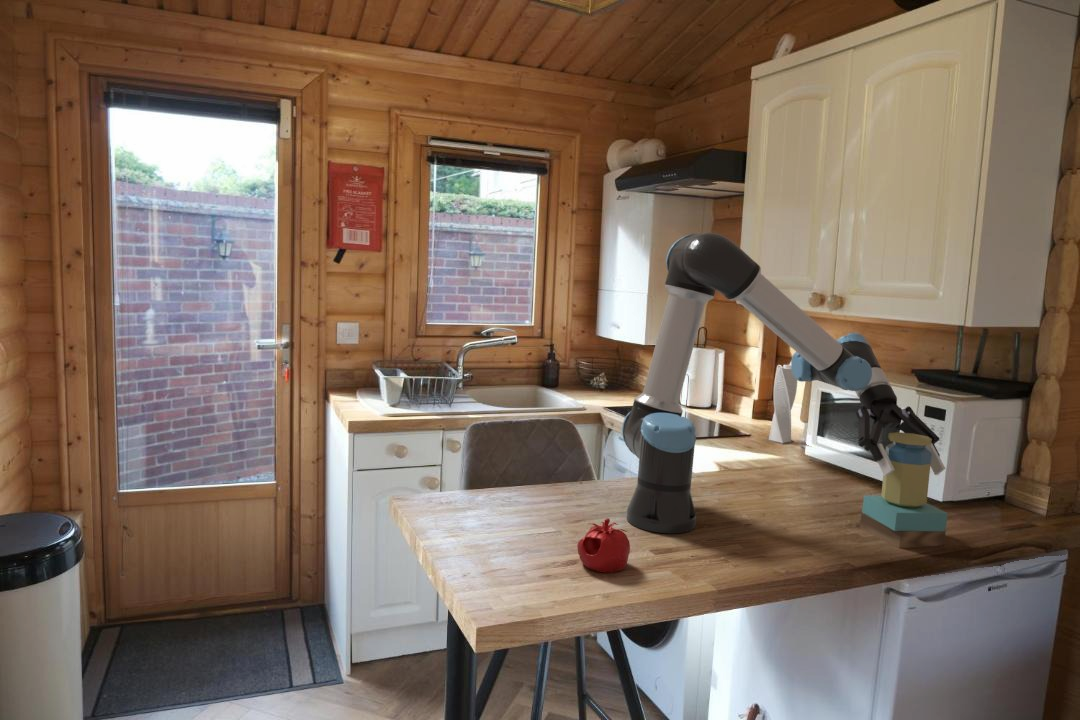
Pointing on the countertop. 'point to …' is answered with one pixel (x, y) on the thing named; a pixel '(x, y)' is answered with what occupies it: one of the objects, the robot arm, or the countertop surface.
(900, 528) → the tower top
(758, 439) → the countertop surface
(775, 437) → the skyscraper
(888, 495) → the jar
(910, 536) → the tower base
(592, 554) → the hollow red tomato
